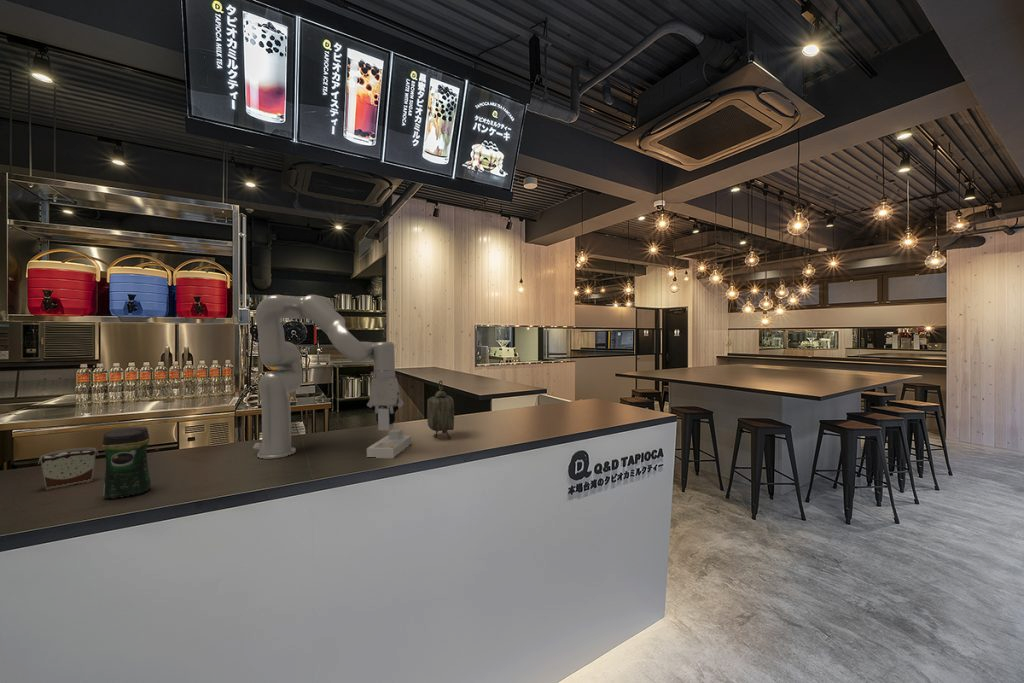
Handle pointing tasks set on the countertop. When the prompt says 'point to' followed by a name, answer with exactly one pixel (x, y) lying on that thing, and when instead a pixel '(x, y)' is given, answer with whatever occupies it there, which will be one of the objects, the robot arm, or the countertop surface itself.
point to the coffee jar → (126, 462)
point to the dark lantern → (440, 412)
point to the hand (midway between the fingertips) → (385, 423)
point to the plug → (384, 418)
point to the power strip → (389, 445)
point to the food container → (68, 466)
